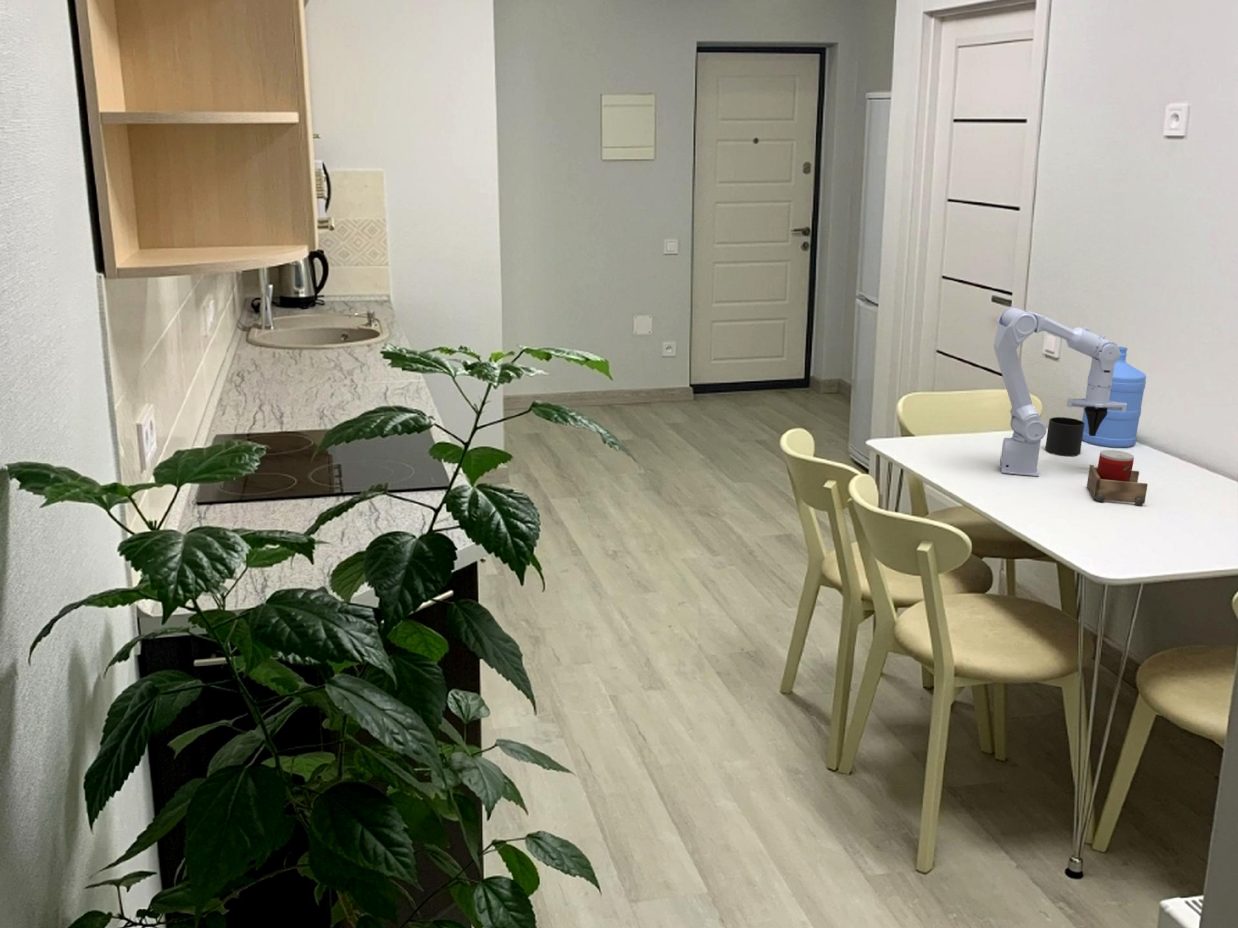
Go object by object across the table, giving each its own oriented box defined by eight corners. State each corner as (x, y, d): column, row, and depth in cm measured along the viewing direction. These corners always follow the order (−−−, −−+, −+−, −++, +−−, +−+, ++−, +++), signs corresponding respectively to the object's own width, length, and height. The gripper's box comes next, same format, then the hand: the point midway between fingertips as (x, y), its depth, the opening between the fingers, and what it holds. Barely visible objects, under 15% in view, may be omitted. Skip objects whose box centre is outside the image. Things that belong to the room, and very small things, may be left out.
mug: (1068, 445, 346) (1072, 415, 344) (1085, 457, 335) (1090, 425, 332) (1036, 444, 346) (1040, 414, 343) (1052, 456, 334) (1057, 425, 332)
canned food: (1124, 502, 295) (1131, 460, 292) (1090, 496, 299) (1097, 454, 296) (1129, 495, 302) (1136, 453, 298) (1096, 489, 306) (1103, 447, 302)
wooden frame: (1094, 501, 295) (1097, 478, 293) (1086, 485, 308) (1089, 463, 306) (1144, 506, 293) (1148, 483, 291) (1134, 490, 305) (1138, 468, 304)
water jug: (1144, 449, 345) (1160, 354, 337) (1090, 447, 345) (1104, 352, 337) (1123, 435, 360) (1137, 343, 352) (1071, 433, 360) (1084, 341, 352)
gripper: (1072, 386, 311) (1065, 436, 315) (1131, 390, 308) (1123, 441, 312) (1069, 380, 317) (1061, 429, 321) (1126, 385, 314) (1118, 434, 318)
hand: (1091, 435), depth 317 cm, fingers closed
